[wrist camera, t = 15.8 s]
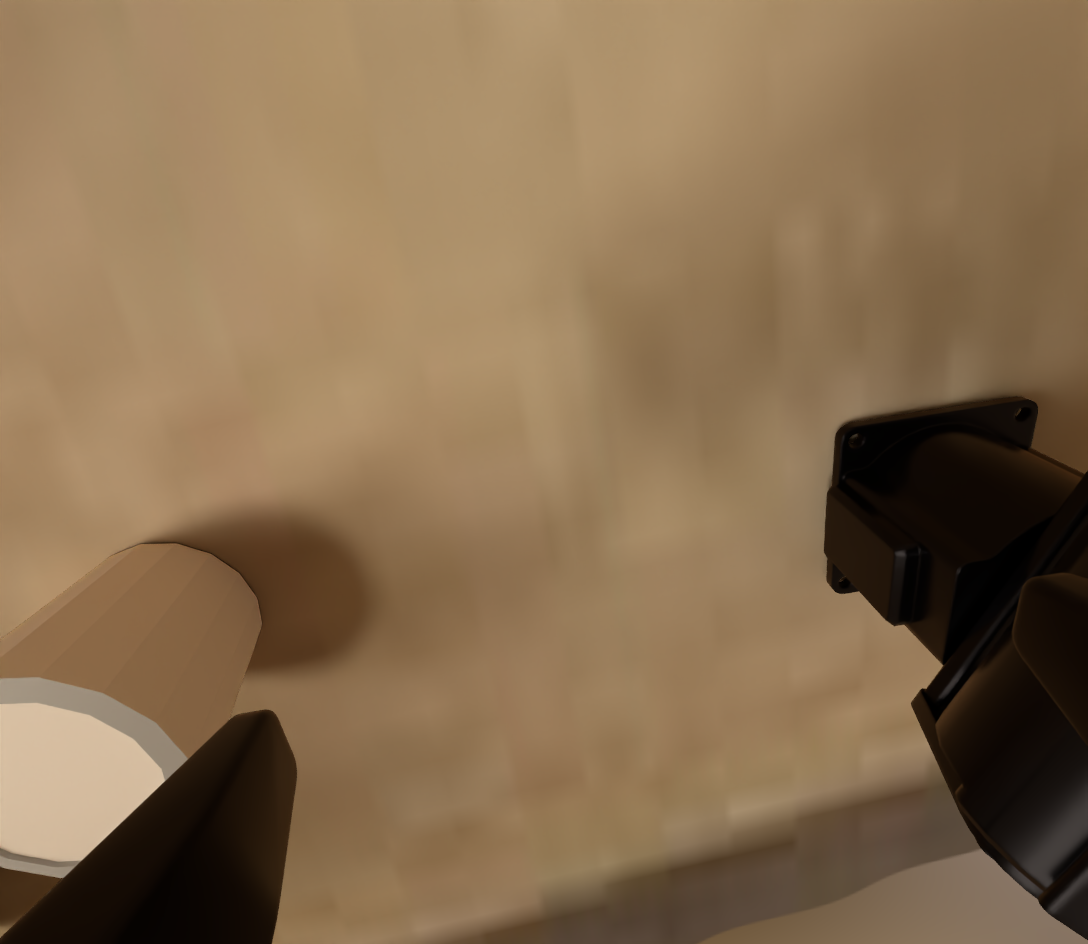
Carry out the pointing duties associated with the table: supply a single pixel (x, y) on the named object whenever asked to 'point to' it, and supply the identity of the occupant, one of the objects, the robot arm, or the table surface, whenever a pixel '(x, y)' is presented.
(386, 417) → the table surface
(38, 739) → the beige cup
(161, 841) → the robot arm
